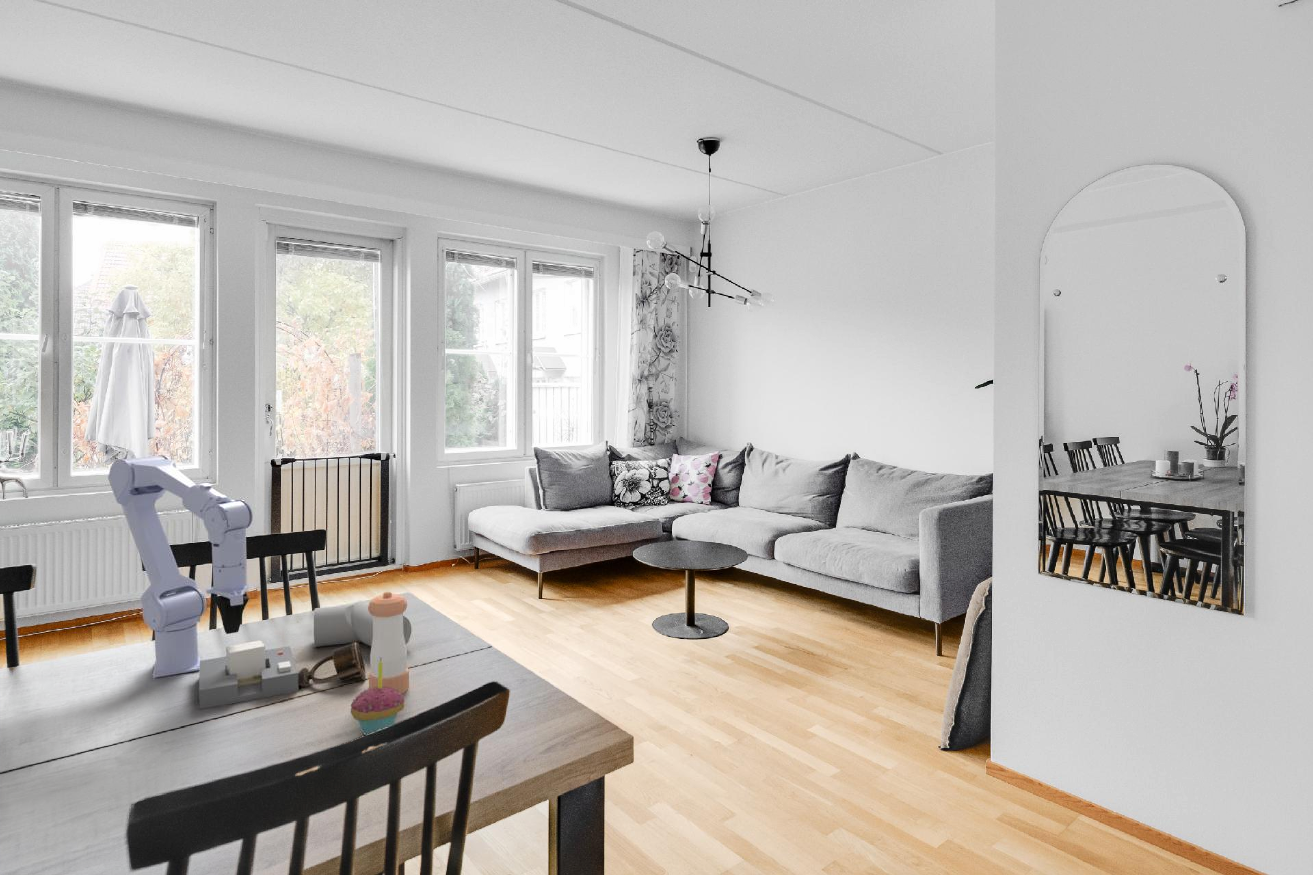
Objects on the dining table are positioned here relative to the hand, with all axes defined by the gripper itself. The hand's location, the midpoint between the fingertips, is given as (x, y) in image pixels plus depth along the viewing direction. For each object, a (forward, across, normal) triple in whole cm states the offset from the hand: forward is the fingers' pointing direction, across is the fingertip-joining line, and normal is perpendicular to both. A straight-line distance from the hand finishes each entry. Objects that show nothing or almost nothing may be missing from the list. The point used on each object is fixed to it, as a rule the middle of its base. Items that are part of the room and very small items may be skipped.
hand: (231, 632), depth 144 cm
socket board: (+10, +4, +2) cm, 11 cm away
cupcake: (+10, +38, +16) cm, 42 cm away
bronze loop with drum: (+10, +11, +16) cm, 22 cm away
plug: (+9, +4, +2) cm, 10 cm away
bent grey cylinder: (+10, -5, +26) cm, 29 cm away
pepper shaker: (+10, +22, +23) cm, 33 cm away
